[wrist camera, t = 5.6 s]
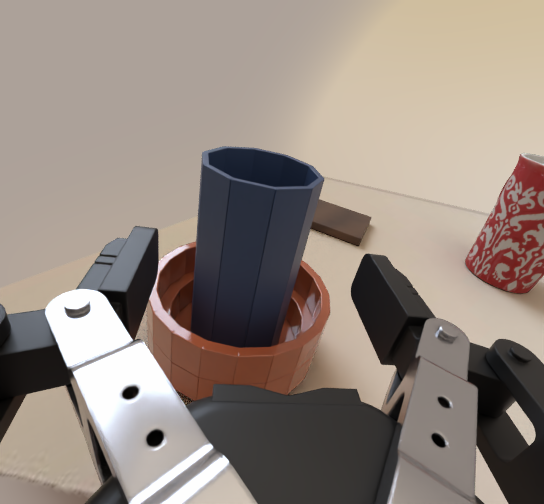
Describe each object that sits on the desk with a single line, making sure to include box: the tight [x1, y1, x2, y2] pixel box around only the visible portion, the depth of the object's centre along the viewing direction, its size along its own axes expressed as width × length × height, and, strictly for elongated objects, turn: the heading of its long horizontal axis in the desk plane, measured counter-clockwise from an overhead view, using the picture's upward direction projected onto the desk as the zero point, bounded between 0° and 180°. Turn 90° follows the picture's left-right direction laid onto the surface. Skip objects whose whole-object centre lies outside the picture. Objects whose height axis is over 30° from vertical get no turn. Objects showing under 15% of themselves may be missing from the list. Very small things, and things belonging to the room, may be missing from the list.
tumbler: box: [191, 146, 324, 348], centre depth 19 cm, size 6×6×12 cm
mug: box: [465, 153, 544, 293], centre depth 36 cm, size 13×9×14 cm
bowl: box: [147, 242, 330, 401], centre depth 21 cm, size 11×11×5 cm
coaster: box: [311, 200, 371, 246], centre depth 42 cm, size 8×8×1 cm
